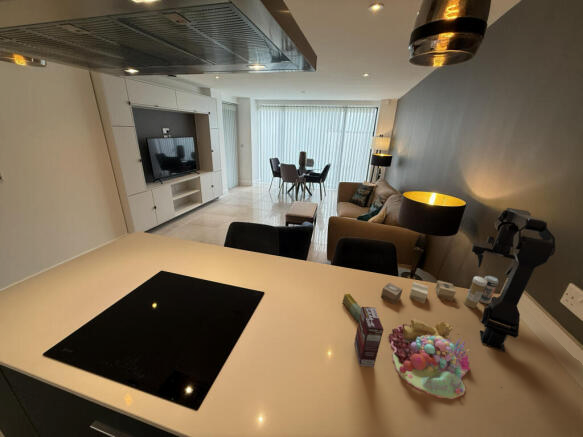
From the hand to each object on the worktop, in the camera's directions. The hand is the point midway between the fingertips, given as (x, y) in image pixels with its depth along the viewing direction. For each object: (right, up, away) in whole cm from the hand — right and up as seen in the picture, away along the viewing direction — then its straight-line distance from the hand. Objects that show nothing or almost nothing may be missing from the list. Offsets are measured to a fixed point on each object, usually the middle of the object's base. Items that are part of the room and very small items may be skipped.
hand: (492, 270), depth 100 cm
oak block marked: (-17, -12, +6) cm, 22 cm away
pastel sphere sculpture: (-43, -23, -25) cm, 54 cm away
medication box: (-62, -15, -7) cm, 64 cm away
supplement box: (-64, -22, -25) cm, 72 cm away
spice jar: (-1, -14, +3) cm, 15 cm away
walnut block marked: (-43, -12, +2) cm, 45 cm away
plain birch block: (-30, -13, +4) cm, 33 cm away
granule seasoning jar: (-9, -15, 0) cm, 18 cm away
